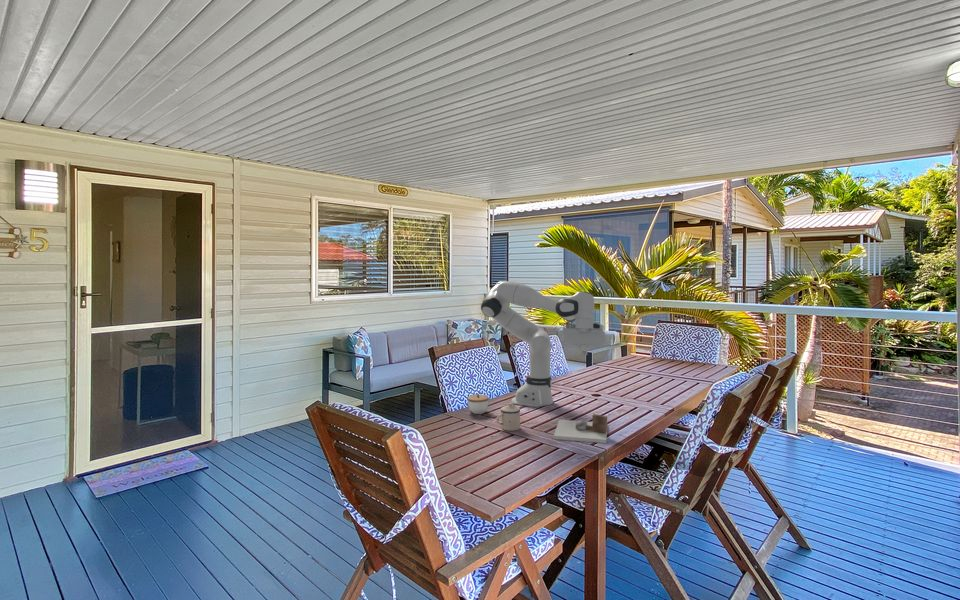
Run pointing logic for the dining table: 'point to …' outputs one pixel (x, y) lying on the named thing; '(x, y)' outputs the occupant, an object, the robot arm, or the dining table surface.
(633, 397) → the dining table surface
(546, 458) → the dining table surface
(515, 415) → the teacup with lid
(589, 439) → the plate
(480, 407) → the lidded jar
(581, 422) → the tuning peg
